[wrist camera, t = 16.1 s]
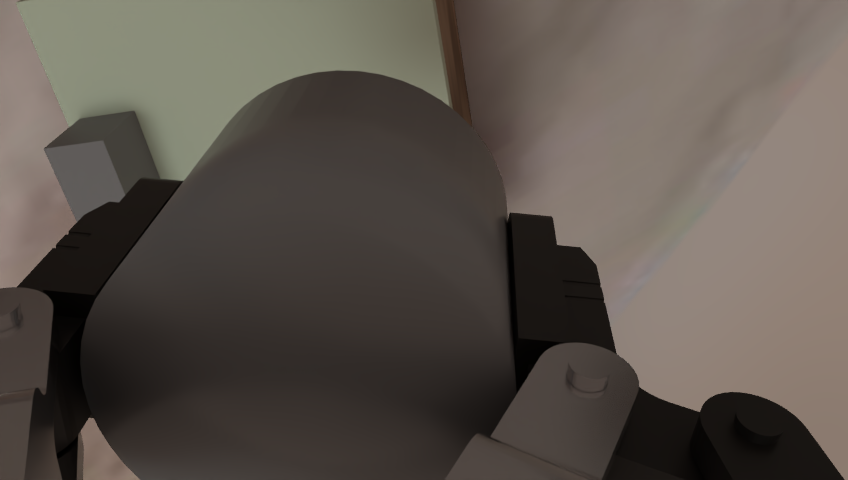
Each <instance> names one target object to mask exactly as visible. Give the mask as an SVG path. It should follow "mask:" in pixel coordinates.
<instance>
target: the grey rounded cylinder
mask: <svg viewBox="0 0 848 480" xmlns="http://www.w3.org/2000/svg"><path fill="white" fill-rule="evenodd" d="M80 367H81V376H82V384H83V388H84V391H85V395H86V398H87V402H88V405H89V408H90V410H91V412H92V415H93V417H94V419H95V421H96V423H97V426H98V427H99V429H100V431H101V432H102V434H103V435H104V437H105V439H106V440H107V442H108V443H109V445H110V447H111V448H112V449H113V450H114V451H115V453H116V454H117V455H118V456H119V458H120V459H121V460H122V461H123V463H124V464H125V465H126V466H127V467H128V468H129V469H130V470H131V471H132V472H133V473H134V474H135V475H136V476H137V477H138V478H139V479H140V480H445V478H446V477H447V475H448V474H449V472H450V471H451V469H452V468H453V466H454V465H455V463H456V462H457V460H458V459H459V457H460V455H461V454H462V452H463V451H464V449H465V448H466V446H467V445H468V443H469V442H470V441H471V439H472V438H473V437H474V436H475V435H476V434H477V433H483V434H485V435H488V436H491V435H492V433H493V431H494V430H495V428H496V427H497V425H498V423H499V422H500V420H501V419H502V417H503V415H504V414H505V412H506V411H507V409H508V407H509V406H510V404H511V403H512V401H513V399H514V398H515V396H516V395H517V389H516V373H515V360H514V340H513V320H512V301H511V281H510V261H509V241H508V214H507V201H506V195H505V190H504V186H503V182H502V178H501V176H500V173H499V170H498V168H497V165H496V163H495V161H494V159H493V157H492V155H491V154H490V152H489V150H488V148H487V146H486V145H485V143H484V142H483V141H482V139H481V138H480V137H479V135H478V134H477V133H476V132H475V130H474V129H473V128H472V127H471V126H470V125H469V124H468V123H467V122H466V121H465V120H464V119H463V118H462V117H461V116H460V115H459V114H458V113H457V112H456V111H454V110H453V109H452V108H451V107H449V106H448V105H447V104H445V103H444V102H443V101H442V100H440V99H438V98H436V97H435V96H433V95H431V94H430V93H428V92H426V91H425V90H423V89H421V88H418V87H416V86H414V85H411V84H409V83H407V82H404V81H402V80H398V79H395V78H392V77H388V76H385V75H381V74H375V73H369V72H362V71H342V70H336V71H326V72H316V73H311V74H307V75H303V76H299V77H295V78H292V79H290V80H287V81H284V82H282V83H279V84H277V85H275V86H273V87H271V88H269V89H268V90H266V91H264V92H262V93H260V94H259V95H257V96H256V97H255V98H253V99H252V100H251V101H250V102H248V103H247V104H246V105H244V106H243V107H242V108H241V109H240V110H239V111H238V112H237V113H236V114H235V116H234V117H233V118H232V119H231V120H230V121H229V122H228V124H227V125H226V126H225V127H224V129H223V130H222V131H221V133H220V134H219V135H218V137H217V138H216V139H215V141H214V142H213V143H212V145H211V146H210V147H209V149H208V150H207V151H206V152H205V154H204V155H203V156H202V158H201V159H200V160H199V162H198V163H197V164H196V166H195V167H194V168H193V170H192V171H191V172H190V174H189V175H188V176H187V177H186V179H185V180H184V181H183V183H182V184H181V185H180V187H179V188H178V189H177V191H176V192H175V193H174V195H173V196H172V197H171V199H170V200H169V201H168V202H167V204H166V205H165V206H164V208H163V209H162V210H161V212H160V213H159V214H158V216H157V217H156V218H155V220H154V221H153V222H152V223H151V225H150V226H149V227H148V229H147V230H146V231H145V233H144V234H143V235H142V237H141V238H140V239H139V241H138V242H137V243H136V245H135V246H134V247H133V248H132V250H131V251H130V252H129V254H128V255H127V256H126V258H125V259H124V260H123V262H122V263H121V264H120V266H119V267H118V268H117V270H116V271H115V272H114V273H113V275H112V276H111V277H110V279H109V280H108V282H107V283H106V284H105V286H104V287H103V289H102V290H101V292H100V293H99V295H98V296H97V298H96V299H95V301H94V304H93V306H92V308H91V310H90V313H89V315H88V317H87V319H86V323H85V327H84V332H83V336H82V340H81V354H80Z"/></svg>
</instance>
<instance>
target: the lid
mask: <svg viewBox="0 0 848 480" xmlns="http://www.w3.org/2000/svg"><path fill="white" fill-rule="evenodd" d="M16 5H17V7H18V9H19V12H20V14H21V16H22V19H23V21H24V23H25V26H26V28H27V30H28V33H29V35H30V37H31V40H32V42H33V44H34V47H35V49H36V51H37V54H38V56H39V58H40V60H41V63H42V65H43V67H44V70H45V72H46V74H47V77H48V79H49V81H50V84H51V86H52V88H53V91H54V93H55V95H56V98H57V100H58V102H59V105H60V107H61V109H62V112H63V114H64V116H65V119H66V121H67V123H68V126H69V128H68V129H67V130H66V131H64V132H63V133H62V134H61V135H60V136H58V137H57V138H56V139H55V140H54V141H52V142H51V143H50V144H49V145H48V146H46V147H45V148H44V150H45V153H46V155H47V157H48V159H49V161H50V164H51V166H52V168H53V170H54V172H55V175H56V177H57V179H58V181H59V183H60V186H61V188H62V190H63V192H64V194H65V197H66V199H67V201H68V203H69V205H70V208H71V210H72V212H73V214H74V216H75V219H76V221H77V222H78V221H79V220H80V219H81V217H82V216H83V215H85V214H86V213H88V212H90V211H92V210H94V209H96V208H98V207H100V206H102V205H103V204H105V203H107V202H109V201H110V202H120V201H121V199H122V198H123V197H124V196H125V195H126V194H127V193H128V191H129V190H130V189H131V188H132V187H133V186H134V185H135V183H136V182H137V181H138V180H139V179H140V178H142V177H149V178H159V179H170V180H180V181H184V180H185V179H186V177H187V176H188V175H189V174H190V172H191V171H192V170H193V168H194V167H195V166H196V164H197V163H198V162H199V160H200V159H201V158H202V156H203V155H204V154H205V152H206V151H207V150H208V149H209V147H210V146H211V145H212V143H213V142H214V141H215V139H216V138H217V137H218V135H219V134H220V133H221V131H222V130H223V129H224V127H225V126H226V125H227V124H228V122H229V121H230V120H231V119H232V118H233V117H234V116H235V114H236V113H237V112H238V111H239V110H240V109H241V108H242V107H243V106H244V105H246V104H247V103H248V102H250V101H251V100H252V99H253V98H255V97H256V96H257V95H259V94H260V93H262V92H264V91H266V90H268V89H269V88H271V87H273V86H275V85H277V84H279V83H282V82H284V81H287V80H290V79H292V78H295V77H299V76H303V75H307V74H311V73H316V72H326V71H336V70H342V71H362V72H369V73H375V74H381V75H385V76H388V77H392V78H395V79H398V80H402V81H404V82H407V83H409V84H411V85H414V86H416V87H418V88H421V89H423V90H425V91H426V92H428V93H430V94H431V95H433V96H435V97H436V98H438V99H440V100H442V101H443V102H444V103H445V104H447V105H448V106H449V107H451V108H452V109H453V107H452V101H451V94H450V88H449V82H448V76H447V70H446V63H445V57H444V51H443V45H442V39H441V32H440V26H439V20H438V14H437V7H436V1H435V0H20V1H18V2H16Z"/></svg>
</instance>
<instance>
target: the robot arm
mask: <svg viewBox="0 0 848 480" xmlns="http://www.w3.org/2000/svg"><path fill="white" fill-rule="evenodd" d="M182 183H183V181H180V180H170V179H159V178H149V177H142V178H140V179H139V180H138V181H137V182H136V183H135V185H134V186H133V187H132V188H131V189H130V190H129V191H128V193H127V194H126V195H125V196H124V197H123V198H122V199H121V201H120V202H110V201H109V202H107V203H105V204H103V205H102V206H100V207H98V208H96V209H94V210H92V211H90V212H88V213H86V214H85V215H83V216H82V217H81V219H80V220H79V221H78V222H77V223H76V224H75V225H74V226H73V227H72V228H71V229H70V230H69V234H68V235H65V236H64V237H63V238H62V239H61V240H60V241H59V242H58V243H57V244H56V249H55V248H53V249H52V250H51V251H50V252H49V253H48V254H47V255H46V256H45V257H44V258H43V259H42V261H41V262H40V263H39V264H38V265H37V266H36V267H35V268H34V269H33V270H32V271H31V272H30V273H29V275H28V276H27V277H26V278H25V279H24V280H23V281H22V282H21V283H20V284H19V285H18V286H17V287H11V288H1V289H0V480H83V460H84V446H83V440H82V435H81V429H82V428H83V426H84V425H85V423H86V421H87V420H88V418H94V417H93V415H92V412H91V410H90V408H89V405H88V402H87V398H86V395H85V391H84V388H83V384H82V376H81V367H80V354H81V340H82V336H83V332H84V327H85V323H86V319H87V317H88V315H89V313H90V310H91V308H92V306H93V304H94V301H95V299H96V298H97V296H98V295H99V293H100V292H101V290H102V289H103V287H104V286H105V284H106V283H107V282H108V280H109V279H110V277H111V276H112V275H113V273H114V272H115V271H116V270H117V268H118V267H119V266H120V264H121V263H122V262H123V260H124V259H125V258H126V256H127V255H128V254H129V252H130V251H131V250H132V248H133V247H134V246H135V245H136V243H137V242H138V241H139V239H140V238H141V237H142V235H143V234H144V233H145V231H146V230H147V229H148V227H149V226H150V225H151V223H152V222H153V221H154V220H155V218H156V217H157V216H158V214H159V213H160V212H161V210H162V209H163V208H164V206H165V205H166V204H167V202H168V201H169V200H170V199H171V197H172V196H173V195H174V193H175V192H176V191H177V189H178V188H179V187H180V185H181V184H182ZM508 241H509V261H510V281H511V301H512V320H513V340H514V360H515V373H516V389H517V395H516V396H515V398H514V399H513V401H512V403H511V404H510V406H509V407H508V409H507V411H506V412H505V414H504V415H503V417H502V419H501V420H500V422H499V423H498V425H497V427H496V428H495V430H494V431H493V433H492V435H491V436H488V435H485V434H483V433H477V434H476V435H475V436H474V437H473V438H472V439H471V441H470V442H469V443H468V445H467V446H466V448H465V449H464V451H463V452H462V454H461V455H460V457H459V459H458V460H457V462H456V463H455V465H454V466H453V468H452V469H451V471H450V472H449V474H448V475H447V477H446V478H445V480H844V478H843V477H842V476H841V475H840V473H839V472H838V470H837V469H836V468H835V466H834V465H833V463H832V462H831V461H830V459H829V458H828V457H827V455H826V454H825V453H824V451H823V450H822V448H821V447H820V446H819V444H818V443H817V442H816V440H815V439H814V438H813V436H812V435H811V434H810V432H809V431H808V429H807V428H806V427H805V426H804V424H803V423H802V422H801V421H800V420H799V419H798V418H797V417H796V416H795V415H793V414H792V413H791V412H789V411H788V410H787V409H785V408H783V407H782V406H780V405H778V404H776V403H774V402H772V401H770V400H768V399H765V398H762V397H759V396H755V395H752V394H747V393H740V392H729V393H721V394H717V395H715V396H713V397H711V398H709V399H708V400H707V401H706V402H705V403H704V404H703V406H702V408H701V411H700V412H697V411H694V410H691V409H688V408H685V407H682V406H679V405H676V404H673V403H670V402H667V401H664V400H662V399H659V398H657V397H655V396H653V395H651V394H649V393H648V392H646V391H644V390H643V389H641V388H640V387H639V380H638V377H637V374H636V373H635V371H634V369H633V368H632V367H631V366H630V364H629V363H627V362H626V361H625V360H624V359H623V358H621V357H620V356H619V355H617V353H616V349H615V346H614V340H613V336H612V332H611V327H610V323H609V319H608V314H607V310H606V305H605V303H604V297H603V292H602V288H601V287H600V279H599V275H598V271H597V266H596V264H595V263H594V262H593V261H592V260H591V259H590V258H589V256H588V255H587V254H586V253H585V252H584V251H583V250H582V249H581V248H580V247H571V246H560V245H557V242H556V235H555V229H554V223H553V218H552V217H551V216H541V215H530V214H520V213H510V214H509V218H508Z"/></svg>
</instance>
